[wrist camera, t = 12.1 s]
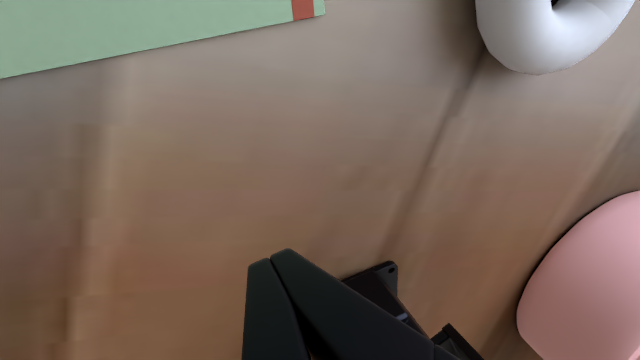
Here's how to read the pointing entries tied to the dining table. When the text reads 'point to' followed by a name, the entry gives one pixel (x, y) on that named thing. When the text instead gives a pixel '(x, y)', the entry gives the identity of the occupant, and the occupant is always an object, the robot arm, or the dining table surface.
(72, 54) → the green flat piece
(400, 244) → the dining table surface
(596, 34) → the donut
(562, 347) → the cake
